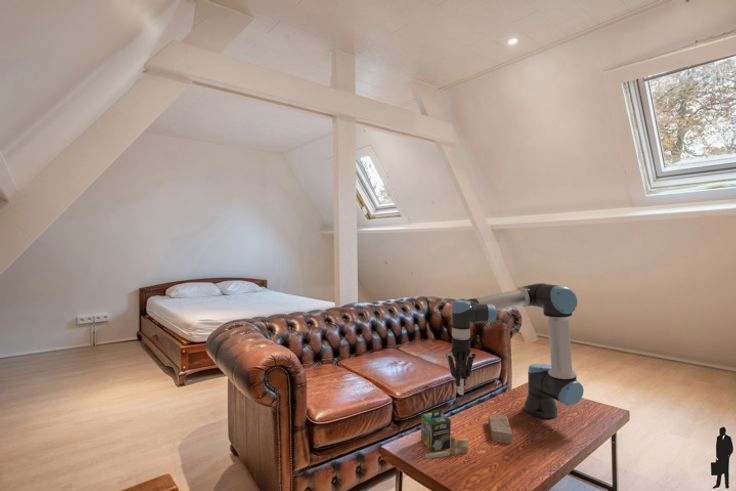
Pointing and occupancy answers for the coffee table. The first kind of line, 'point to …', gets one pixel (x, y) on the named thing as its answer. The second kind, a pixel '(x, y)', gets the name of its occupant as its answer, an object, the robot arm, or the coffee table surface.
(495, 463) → the coffee table surface
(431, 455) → the kerb
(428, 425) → the chalk box
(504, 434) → the brick
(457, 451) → the chute
